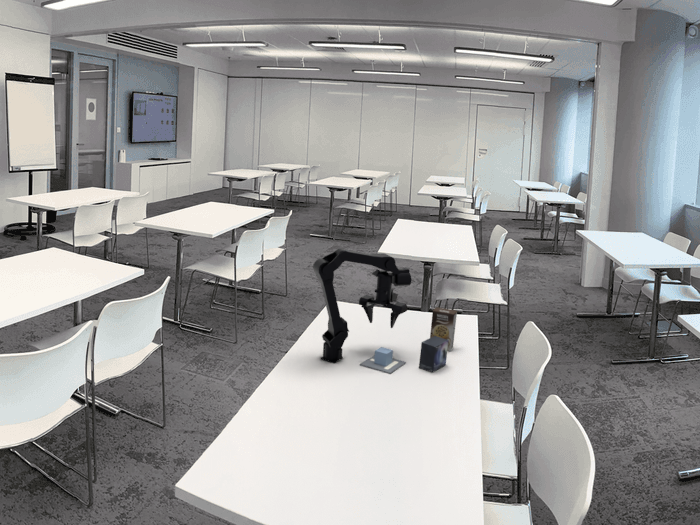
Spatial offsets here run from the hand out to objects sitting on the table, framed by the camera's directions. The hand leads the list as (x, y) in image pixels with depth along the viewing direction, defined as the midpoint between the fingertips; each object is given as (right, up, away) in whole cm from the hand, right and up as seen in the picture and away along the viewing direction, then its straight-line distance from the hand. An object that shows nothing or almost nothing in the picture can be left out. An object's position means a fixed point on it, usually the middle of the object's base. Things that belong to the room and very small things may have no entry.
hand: (381, 325), depth 227 cm
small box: (+19, -15, -7) cm, 25 cm away
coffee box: (+26, -11, +14) cm, 31 cm away
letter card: (0, -14, -7) cm, 16 cm away
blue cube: (0, -13, -7) cm, 15 cm away
